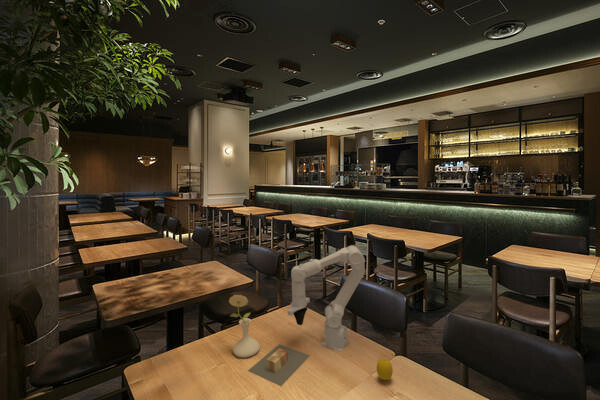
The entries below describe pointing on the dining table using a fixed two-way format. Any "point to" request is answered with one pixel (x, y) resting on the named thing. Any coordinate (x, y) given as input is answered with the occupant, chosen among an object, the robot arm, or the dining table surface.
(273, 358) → the maple block
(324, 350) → the dining table surface
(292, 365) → the rubber mat
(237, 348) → the flower in vase
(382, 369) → the lemon
